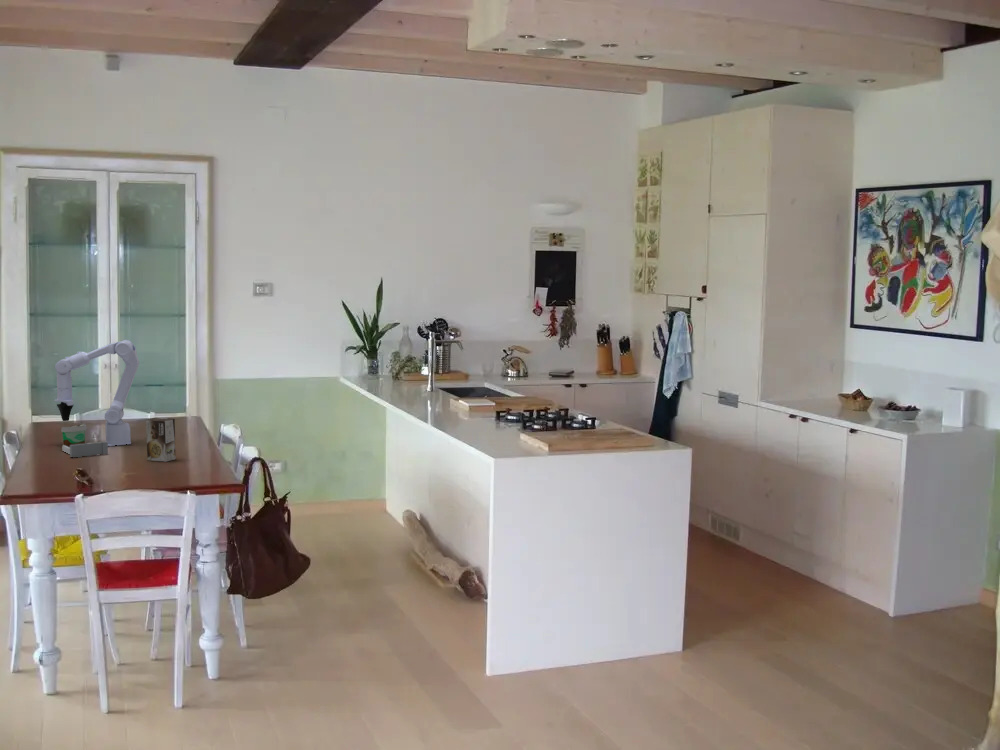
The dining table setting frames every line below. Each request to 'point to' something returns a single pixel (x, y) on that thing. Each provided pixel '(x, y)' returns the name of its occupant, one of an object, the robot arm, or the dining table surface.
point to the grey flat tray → (86, 449)
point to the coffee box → (160, 439)
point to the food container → (74, 434)
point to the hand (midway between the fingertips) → (65, 420)
